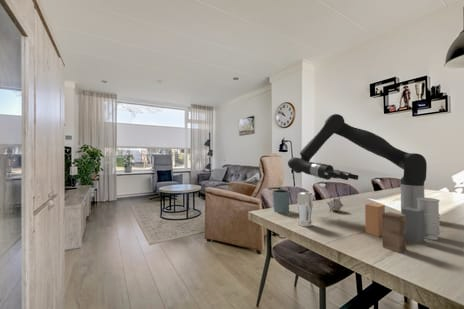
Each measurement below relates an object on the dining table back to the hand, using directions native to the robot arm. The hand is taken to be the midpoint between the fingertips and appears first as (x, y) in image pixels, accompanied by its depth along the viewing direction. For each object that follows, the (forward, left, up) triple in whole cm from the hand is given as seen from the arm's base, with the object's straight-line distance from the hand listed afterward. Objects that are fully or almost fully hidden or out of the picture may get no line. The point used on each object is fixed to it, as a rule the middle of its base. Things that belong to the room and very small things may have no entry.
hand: (353, 177), depth 96 cm
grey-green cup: (+20, -33, -23) cm, 45 cm away
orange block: (-2, +9, -22) cm, 24 cm away
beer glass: (+20, -8, -23) cm, 31 cm away
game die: (-10, -25, -23) cm, 35 cm away
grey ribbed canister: (-19, +17, -23) cm, 34 cm away
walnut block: (+3, +22, -22) cm, 32 cm away
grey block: (-10, +18, -22) cm, 31 cm away
